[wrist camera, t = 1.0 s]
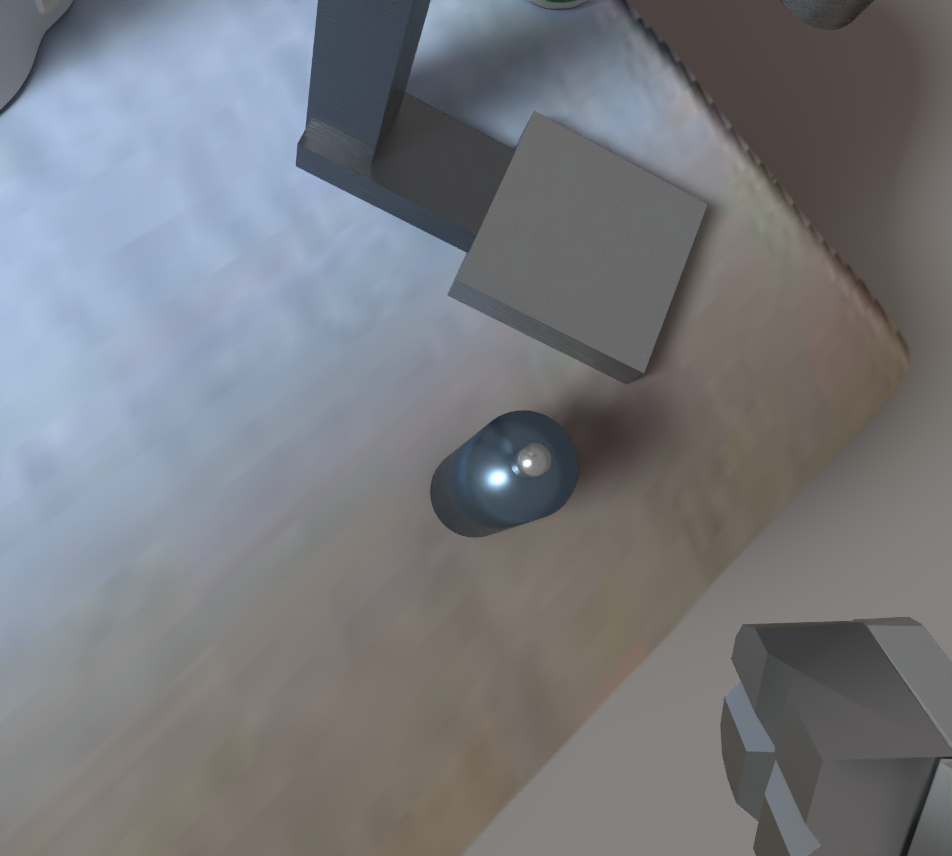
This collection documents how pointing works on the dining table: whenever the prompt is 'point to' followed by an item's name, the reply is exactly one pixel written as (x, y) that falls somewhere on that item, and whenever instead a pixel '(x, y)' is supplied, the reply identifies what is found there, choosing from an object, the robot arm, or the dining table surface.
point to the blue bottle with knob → (505, 475)
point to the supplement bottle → (557, 3)
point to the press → (507, 191)
